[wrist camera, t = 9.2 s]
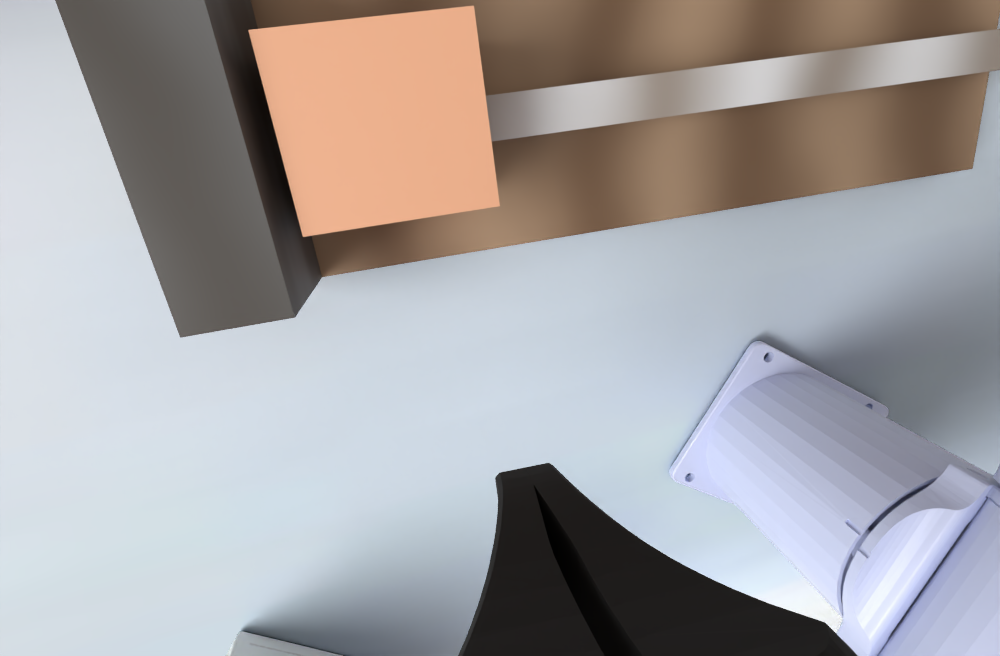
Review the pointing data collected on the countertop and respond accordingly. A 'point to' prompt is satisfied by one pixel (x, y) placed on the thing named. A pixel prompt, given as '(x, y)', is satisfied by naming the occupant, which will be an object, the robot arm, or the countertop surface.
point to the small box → (269, 647)
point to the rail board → (530, 124)
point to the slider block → (379, 117)
